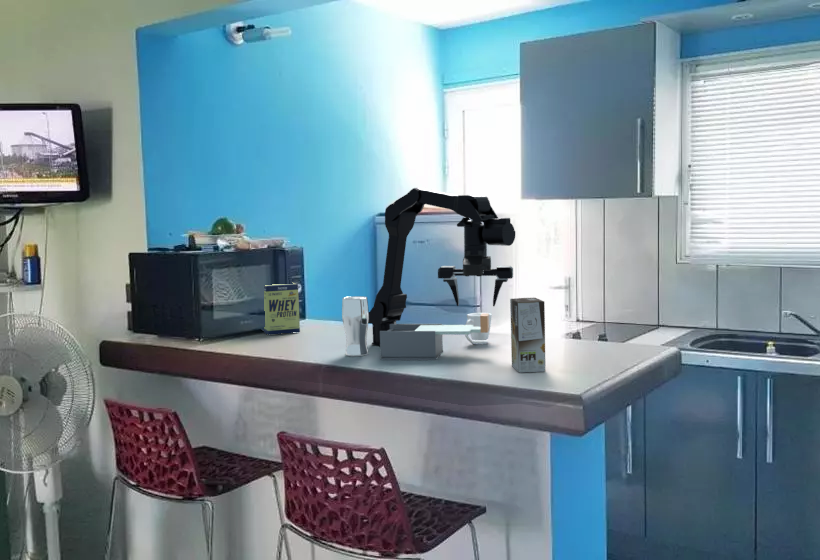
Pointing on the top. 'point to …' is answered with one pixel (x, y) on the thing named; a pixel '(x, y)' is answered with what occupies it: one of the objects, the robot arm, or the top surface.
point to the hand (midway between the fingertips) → (475, 306)
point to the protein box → (281, 308)
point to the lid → (458, 327)
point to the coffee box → (528, 334)
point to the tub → (410, 343)
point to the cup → (475, 320)
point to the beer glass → (355, 324)
